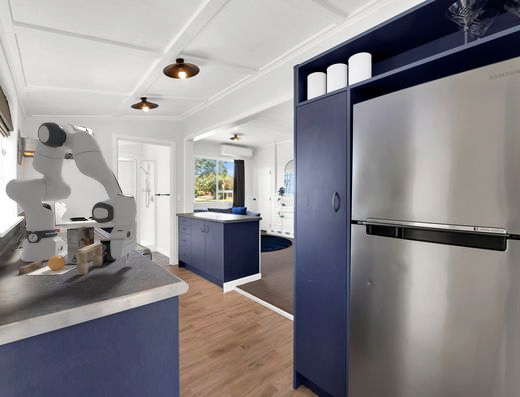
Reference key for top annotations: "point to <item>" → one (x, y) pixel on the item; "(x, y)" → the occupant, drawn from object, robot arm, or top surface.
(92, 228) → the coffee box
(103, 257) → the supplement container
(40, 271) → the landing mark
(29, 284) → the top surface
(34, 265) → the stopper
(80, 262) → the bridge
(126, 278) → the top surface
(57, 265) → the ball
